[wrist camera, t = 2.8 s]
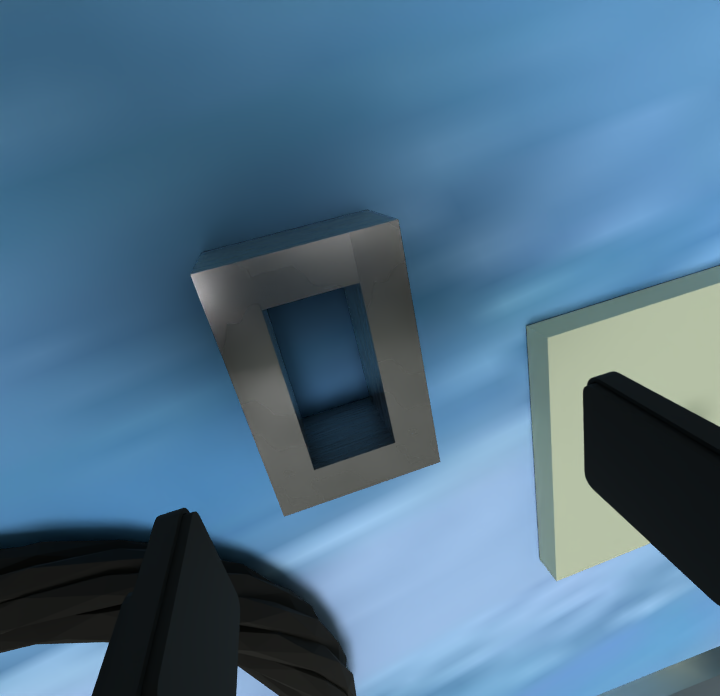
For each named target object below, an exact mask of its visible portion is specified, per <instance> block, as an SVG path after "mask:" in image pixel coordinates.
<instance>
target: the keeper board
mask: <svg viewBox="0 0 720 696" xmlns="http://www.w3.org/2000/svg"><path fill="white" fill-rule="evenodd" d="M526 329H527V346H528V363H529V380H530V398H531V415H532V432H533V449H534V467H535V484H536V501H537V518H538V536H539V553H540V560H541V562H542V563H543V564H544V566H545V567H546V568H547V569H548V571H549V572H550V573H551V575H552V576H553V577H554V579H555V580H556V581H558V580H561V579H563V578H566V577H568V576H571V575H573V574H575V573H578V572H580V571H583V570H585V569H588V568H590V567H593V566H595V565H598V564H600V563H603V562H605V561H608V560H610V559H612V558H615V557H617V556H620V555H622V554H625V553H627V552H630V551H632V550H635V549H637V548H640V547H642V546H645V545H647V544H649V543H650V542H649V541H648V540H647V539H646V538H645V537H644V536H642V535H641V534H640V533H639V532H638V531H637V530H636V529H635V528H634V527H633V526H632V525H631V524H630V523H628V522H627V521H626V520H625V519H624V518H623V517H622V516H621V515H620V514H619V513H618V512H617V511H616V510H614V509H613V508H612V507H611V506H610V505H609V504H608V503H607V502H606V501H605V500H604V499H603V498H602V497H600V496H599V495H598V494H597V493H596V492H595V491H594V490H593V489H592V488H591V487H590V485H589V484H588V482H587V480H586V478H585V473H584V430H583V389H584V387H585V386H587V382H588V380H589V379H590V378H592V377H596V376H599V375H602V374H605V373H608V372H612V371H615V372H618V373H620V374H622V375H624V376H626V377H628V378H630V379H632V380H633V381H635V382H637V383H639V384H641V385H643V386H645V387H646V388H648V389H650V390H652V391H654V392H656V393H658V394H660V395H661V396H663V397H665V398H667V399H669V400H671V401H673V402H674V403H676V404H678V405H680V406H682V407H684V408H686V409H688V410H689V411H691V412H693V413H695V414H697V415H699V416H701V417H703V418H704V419H706V420H708V421H710V422H712V423H714V424H716V425H717V426H719V427H720V266H716V267H713V268H710V269H707V270H704V271H701V272H697V273H694V274H691V275H688V276H685V277H681V278H678V279H675V280H672V281H669V282H665V283H662V284H659V285H656V286H653V287H650V288H646V289H643V290H640V291H637V292H634V293H630V294H627V295H624V296H621V297H618V298H615V299H611V300H608V301H605V302H602V303H599V304H595V305H592V306H589V307H586V308H583V309H579V310H576V311H573V312H570V313H567V314H564V315H560V316H557V317H554V318H551V319H548V320H544V321H541V322H538V323H535V324H532V325H529V326H526Z"/></svg>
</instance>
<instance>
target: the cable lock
mask: <svg viewBox="0 0 720 696" xmlns="http://www.w3.org/2000/svg"><path fill="white" fill-rule="evenodd" d="M147 545H148V543H143V542H134V541H125V540H97V541H49V542H39V543H35V544H31V545H27V546H23V547H15V548H6V549H0V653H2V652H6V651H10V650H14V649H18V648H22V647H26V646H31V645H35V644H59V643H90V642H110V639H111V636H112V633H113V630H114V627H115V624H116V620H117V617H118V614H119V611H120V608H121V605H122V603H123V601H124V599H125V597H126V596H127V595H128V594H129V593H130V592H133V590H134V586H135V583H136V580H137V577H138V574H139V570H140V567H141V564H142V561H143V558H144V554H145V551H146V548H147ZM221 561H222V563H223V566H224V568H225V570H226V572H227V574H228V576H229V578H230V580H231V582H232V584H233V586H234V588H235V590H236V593H237V595H238V599H239V603H240V625H239V646H238V666H239V667H240V668H242V669H243V670H244V671H246V672H247V673H248V674H250V675H251V676H253V677H254V678H255V679H257V680H258V681H260V682H261V683H262V684H264V685H265V686H267V687H268V688H269V689H271V690H272V691H273V692H275V693H276V694H278V695H279V696H356V691H355V684H354V678H353V674H352V673H351V672H350V671H349V670H348V669H347V668H346V656H345V654H344V652H343V650H342V648H341V646H340V644H339V642H338V641H337V640H336V639H335V638H334V637H333V635H332V634H331V633H330V632H329V631H328V630H327V629H326V628H325V627H324V625H323V624H322V623H321V622H320V621H319V619H318V617H317V615H316V613H315V612H314V610H313V608H312V606H311V605H309V604H308V603H307V602H305V601H304V600H303V599H301V598H300V597H299V596H297V595H296V594H295V593H293V592H292V591H291V590H288V589H285V588H283V587H280V586H277V585H275V584H274V583H273V582H271V581H269V580H268V579H266V578H264V577H263V576H261V575H260V574H258V573H256V572H255V571H253V570H252V569H250V568H248V567H247V566H245V565H244V564H240V563H235V562H230V561H224V560H221Z"/></svg>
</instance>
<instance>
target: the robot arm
mask: <svg viewBox="0 0 720 696" xmlns="http://www.w3.org/2000/svg"><path fill="white" fill-rule="evenodd" d="M583 430H584V473H585V478H586V480H587V482H588V484H589V485H590V487H591V488H592V489H593V490H594V491H595V492H596V493H597V494H598V495H599V496H600V497H602V498H603V499H604V500H605V501H606V502H607V503H608V504H609V505H610V506H611V507H612V508H613V509H614V510H616V511H617V512H618V513H619V514H620V515H621V516H622V517H623V518H624V519H625V520H626V521H627V522H628V523H630V524H631V525H632V526H633V527H634V528H635V529H636V530H637V531H638V532H639V533H640V534H641V535H642V536H644V537H645V538H646V539H647V540H648V541H649V542H650V543H651V544H652V545H653V546H654V547H655V548H656V549H658V550H659V551H660V552H661V553H662V554H663V555H664V556H665V557H666V558H667V559H668V560H669V561H670V562H672V563H673V564H674V565H675V566H676V567H677V568H678V569H679V570H680V571H681V572H682V573H683V574H684V575H686V576H687V577H688V578H689V579H690V580H691V581H692V582H693V583H694V584H695V585H696V586H697V587H698V588H700V589H701V590H702V591H703V592H704V593H705V594H706V595H707V596H708V597H709V598H710V599H711V600H712V601H714V602H715V603H716V604H717V605H719V606H720V427H719V426H717V425H716V424H714V423H712V422H710V421H708V420H706V419H704V418H703V417H701V416H699V415H697V414H695V413H693V412H691V411H689V410H688V409H686V408H684V407H682V406H680V405H678V404H676V403H674V402H673V401H671V400H669V399H667V398H665V397H663V396H661V395H660V394H658V393H656V392H654V391H652V390H650V389H648V388H646V387H645V386H643V385H641V384H639V383H637V382H635V381H633V380H632V379H630V378H628V377H626V376H624V375H622V374H620V373H618V372H615V371H612V372H608V373H605V374H602V375H599V376H596V377H592V378H590V379H589V380H588V382H587V386H585V387H584V389H583ZM239 625H240V603H239V599H238V595H237V593H236V590H235V588H234V586H233V584H232V582H231V580H230V578H229V576H228V574H227V572H226V570H225V568H224V566H223V563H222V561H221V559H220V557H219V555H218V553H217V551H216V549H215V547H214V545H213V543H212V541H211V539H210V536H209V534H208V532H207V530H206V528H205V526H204V524H203V522H202V520H201V518H200V516H199V514H198V513H197V512H191V513H190V512H189V511H188V510H187V509H186V508H182V509H179V510H175V511H172V512H169V513H166V514H163V515H160V516H158V517H157V518H156V520H155V522H154V526H153V529H152V532H151V535H150V538H149V542H148V545H147V548H146V551H145V554H144V558H143V561H142V564H141V567H140V570H139V574H138V577H137V580H136V583H135V586H134V590H133V592H130V593H129V594H128V595H127V596H126V597H125V599H124V601H123V603H122V605H121V608H120V611H119V614H118V617H117V620H116V624H115V627H114V630H113V633H112V636H111V639H110V642H109V645H108V648H107V651H106V654H105V657H104V660H103V663H102V666H101V669H100V672H99V675H98V678H97V681H96V684H95V687H94V690H93V693H92V696H236V687H237V667H238V646H239ZM597 696H720V646H719V647H716V648H714V649H711V650H709V651H706V652H704V653H701V654H699V655H696V656H694V657H691V658H689V659H686V660H684V661H681V662H679V663H676V664H674V665H671V666H669V667H666V668H664V669H661V670H659V671H657V672H654V673H652V674H649V675H647V676H644V677H642V678H639V679H637V680H634V681H632V682H629V683H627V684H624V685H622V686H620V687H617V688H615V689H612V690H610V691H607V692H605V693H602V694H600V695H597Z"/></svg>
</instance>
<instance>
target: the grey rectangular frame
mask: <svg viewBox="0 0 720 696" xmlns="http://www.w3.org/2000/svg"><path fill="white" fill-rule="evenodd" d="M190 275H191V278H192V280H193V283H194V286H195V288H196V291H197V293H198V296H199V299H200V301H201V304H202V306H203V309H204V311H205V314H206V317H207V319H208V322H209V324H210V327H211V329H212V332H213V335H214V337H215V340H216V342H217V345H218V347H219V350H220V353H221V355H222V358H223V360H224V363H225V365H226V368H227V371H228V373H229V376H230V378H231V381H232V383H233V386H234V389H235V391H236V394H237V396H238V399H239V401H240V404H241V407H242V409H243V412H244V414H245V417H246V419H247V422H248V425H249V427H250V430H251V432H252V435H253V437H254V440H255V443H256V445H257V448H258V450H259V453H260V455H261V458H262V461H263V463H264V466H265V468H266V471H267V473H268V476H269V479H270V481H271V484H272V486H273V489H274V491H275V494H276V497H277V499H278V502H279V504H280V507H281V509H282V512H283V515H284V516H287V515H290V514H293V513H296V512H299V511H301V510H304V509H307V508H310V507H313V506H316V505H319V504H321V503H324V502H327V501H330V500H333V499H336V498H339V497H341V496H344V495H347V494H350V493H353V492H356V491H359V490H361V489H364V488H367V487H370V486H373V485H376V484H378V483H381V482H384V481H387V480H390V479H393V478H396V477H398V476H401V475H404V474H407V473H410V472H413V471H416V470H418V469H421V468H424V467H427V466H430V465H433V464H436V463H438V462H440V458H439V452H438V446H437V441H436V435H435V429H434V423H433V417H432V412H431V406H430V400H429V394H428V389H427V383H426V377H425V371H424V365H423V360H422V354H421V348H420V342H419V336H418V331H417V325H416V319H415V313H414V307H413V302H412V296H411V290H410V284H409V278H408V273H407V267H406V261H405V255H404V250H403V244H402V238H401V232H400V226H399V221H398V219H396V218H392V217H389V216H386V215H383V214H380V213H377V212H373V211H370V210H364V211H360V212H356V213H352V214H349V215H345V216H341V217H337V218H333V219H329V220H325V221H322V222H318V223H314V224H310V225H306V226H302V227H299V228H295V229H291V230H287V231H283V232H279V233H275V234H272V235H268V236H264V237H260V238H256V239H252V240H248V241H245V242H241V243H237V244H233V245H229V246H225V247H222V248H218V249H214V250H210V251H206V252H202V253H201V255H200V257H199V259H198V260H197V262H196V264H195V266H194V268H193V270H192V272H191V274H190ZM342 287H344V291H345V295H346V299H347V303H348V307H349V312H350V316H351V320H352V324H353V328H354V332H355V337H356V341H357V345H358V349H359V353H360V358H361V362H362V366H363V370H364V374H365V378H366V383H367V387H368V391H369V395H370V397H368V398H365V399H362V400H358V401H355V402H352V403H349V404H346V405H343V406H340V407H337V408H334V409H330V410H327V411H324V412H321V413H318V414H315V415H312V416H309V417H305V418H302V417H301V414H300V411H299V408H298V405H297V402H296V398H295V395H294V392H293V389H292V386H291V383H290V380H289V377H288V374H287V371H286V368H285V365H284V361H283V358H282V355H281V352H280V349H279V346H278V343H277V340H276V337H275V334H274V331H273V327H272V324H271V321H270V318H269V315H268V312H267V309H268V308H272V307H275V306H279V305H282V304H286V303H289V302H293V301H297V300H300V299H304V298H307V297H311V296H314V295H318V294H321V293H325V292H328V291H332V290H335V289H339V288H342Z"/></svg>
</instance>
